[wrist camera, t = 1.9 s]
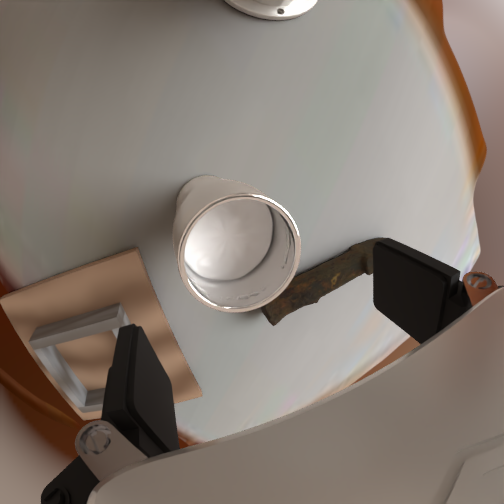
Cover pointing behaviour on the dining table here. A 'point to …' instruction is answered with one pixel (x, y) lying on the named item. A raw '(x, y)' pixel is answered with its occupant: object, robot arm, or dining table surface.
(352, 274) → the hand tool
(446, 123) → the dining table surface
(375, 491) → the robot arm
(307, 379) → the dining table surface
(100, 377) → the glass dock
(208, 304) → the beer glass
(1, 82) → the dining table surface
